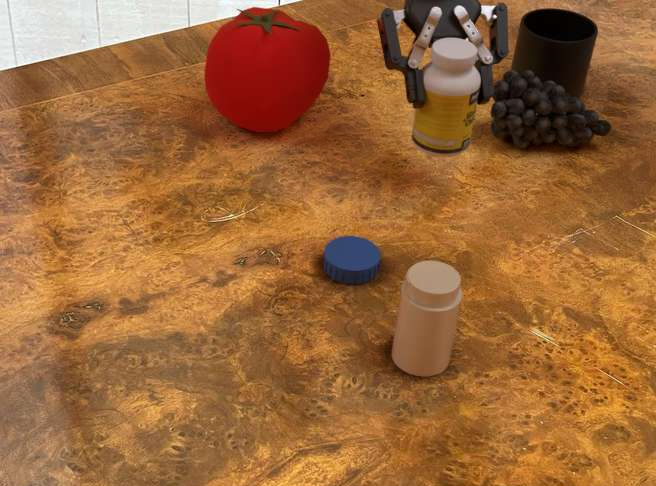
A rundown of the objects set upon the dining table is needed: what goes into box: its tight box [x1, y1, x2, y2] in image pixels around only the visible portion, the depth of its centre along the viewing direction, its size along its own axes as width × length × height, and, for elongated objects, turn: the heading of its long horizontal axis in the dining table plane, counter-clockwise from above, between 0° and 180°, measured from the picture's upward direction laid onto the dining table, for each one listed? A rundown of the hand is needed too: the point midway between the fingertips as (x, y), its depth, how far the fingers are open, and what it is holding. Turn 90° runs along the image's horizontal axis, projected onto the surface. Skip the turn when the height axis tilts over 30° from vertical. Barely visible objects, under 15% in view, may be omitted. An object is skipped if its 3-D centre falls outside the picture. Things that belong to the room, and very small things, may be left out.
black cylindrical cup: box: [510, 7, 599, 100], centre depth 136 cm, size 9×12×9 cm
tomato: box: [204, 6, 331, 133], centre depth 126 cm, size 16×14×14 cm
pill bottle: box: [411, 38, 481, 158], centre depth 114 cm, size 6×6×12 cm
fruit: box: [490, 69, 612, 150], centre depth 125 cm, size 9×8×15 cm
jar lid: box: [322, 235, 382, 285], centre depth 108 cm, size 6×6×2 cm
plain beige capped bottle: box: [391, 260, 464, 378], centre depth 96 cm, size 5×5×10 cm
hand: (451, 104), depth 113 cm, fingers closed on pill bottle, 6 cm apart
